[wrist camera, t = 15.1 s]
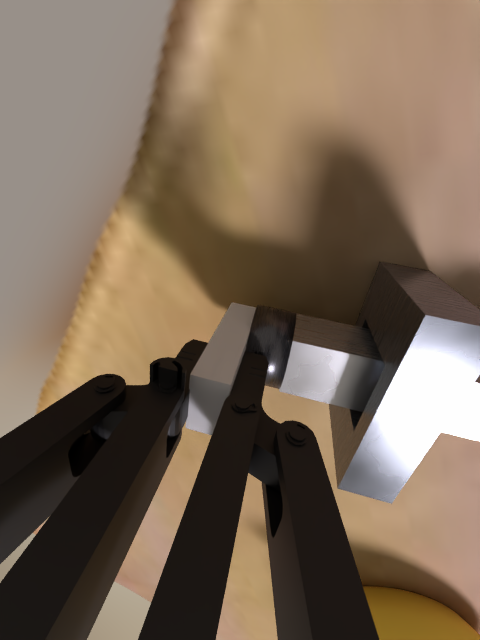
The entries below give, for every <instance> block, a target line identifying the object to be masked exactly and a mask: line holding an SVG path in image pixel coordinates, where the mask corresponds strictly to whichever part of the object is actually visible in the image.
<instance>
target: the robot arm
mask: <svg viewBox="0 0 480 640" xmlns="http://www.w3.org/2000/svg"><path fill="white" fill-rule="evenodd" d="M255 310H256V307H251V306H247V305H242V304H238V303H233V302H232V303H231V305H230V306H229V308H228V310H227V311H226V313H225V315H224V317H223V318H222V320H221V322H220V324H219V325H218V327H217V329H216V331H215V332H214V334H213V336H212V337H211V339H210V341H209V343H206V342H202V341H198V340H194V339H193V340H191V341H190V342H188V343H186V344H185V345H184V346H183V348H182V349H181V351H180V352H179V353H178V355H177V357H176V358H169V357H167V358H160V359H157V360H155V361H153V362H152V363H151V364H150V383H149V384H147V385H126V383H125V380H124V379H123V378H122V377H121V376H118V375H115V374H104V375H99V376H97V377H95V378H93V379H91V380H89V381H88V382H86V383H85V384H83V385H82V386H80V387H79V388H77V389H76V390H74V391H72V392H71V393H69V394H68V395H66V396H65V397H63V398H62V399H60V400H58V401H57V402H55V403H54V404H52V405H51V406H49V407H48V408H46V409H45V410H43V411H41V412H40V413H38V414H37V415H35V416H34V417H32V418H31V419H29V420H28V421H26V422H24V423H23V424H21V425H20V426H18V427H17V428H15V429H14V430H12V431H11V432H9V433H7V434H6V435H4V436H3V437H1V438H0V564H1V563H2V562H3V561H4V560H5V559H6V558H7V557H8V556H9V555H10V554H11V553H12V552H13V551H14V550H15V549H16V548H17V547H18V546H19V545H20V544H21V543H22V542H23V541H24V540H26V539H27V537H28V536H30V535H31V534H32V533H33V532H34V531H35V530H36V529H37V528H38V527H39V526H40V525H41V524H42V523H43V522H44V521H45V520H46V519H47V518H48V517H49V516H50V515H51V516H50V517H49V518H48V520H47V521H46V522H45V524H44V525H43V526H42V528H41V529H40V530H39V532H38V533H37V534H36V536H35V537H34V538H33V540H32V541H31V543H30V544H29V545H28V547H27V548H26V549H25V551H24V552H23V553H22V555H21V556H20V557H19V559H18V560H17V561H16V563H15V564H14V565H13V567H12V568H11V569H10V571H9V572H8V573H7V575H6V576H5V577H4V579H3V580H2V581H1V583H0V640H87V638H88V636H89V633H90V631H91V629H92V627H93V625H94V623H95V621H96V618H97V616H98V614H99V612H100V610H101V608H102V606H103V604H104V601H105V599H106V597H107V595H108V593H109V591H110V589H111V587H112V584H113V582H114V580H115V578H116V576H117V574H118V572H119V570H120V567H121V565H122V563H123V561H124V559H125V557H126V555H127V552H128V550H129V548H130V546H131V544H132V542H133V540H134V538H135V535H136V533H137V531H138V529H139V527H140V525H141V523H142V520H143V518H144V516H145V514H146V512H147V510H148V508H149V506H150V503H151V501H152V499H153V497H154V495H155V493H156V491H157V489H158V486H159V484H160V482H161V480H162V478H163V476H164V474H165V471H166V469H167V467H168V465H169V463H170V461H171V459H172V457H173V454H174V452H175V450H176V448H177V446H178V444H179V442H180V439H181V435H182V428H183V426H184V424H185V422H186V428H187V429H191V430H195V431H198V432H202V433H205V434H209V435H212V437H211V439H210V442H209V445H208V448H207V450H206V453H205V456H204V459H203V461H202V464H201V467H200V470H199V472H198V475H197V478H196V481H195V483H194V486H193V489H192V492H191V495H190V497H189V500H188V503H187V506H186V508H185V511H184V514H183V517H182V519H181V522H180V525H179V528H178V530H177V533H176V536H175V539H174V541H173V544H172V547H171V550H170V552H169V555H168V558H167V561H166V564H165V566H164V569H163V572H162V575H161V577H160V580H159V583H158V586H157V588H156V591H155V594H154V597H153V599H152V602H151V605H150V608H149V610H148V613H147V616H146V619H145V622H144V624H143V627H142V630H141V633H140V635H139V638H138V640H216V634H217V629H218V624H219V619H220V614H221V609H222V604H223V599H224V594H225V588H226V583H227V578H228V573H229V568H230V563H231V558H232V553H233V548H234V542H235V537H236V532H237V527H238V522H239V517H240V512H241V507H242V502H243V496H244V491H245V486H246V481H247V476H248V473H250V474H251V475H253V476H254V477H256V478H257V479H259V480H260V481H262V490H263V500H264V509H265V519H266V529H267V539H268V548H269V558H270V568H271V577H272V587H273V597H274V607H275V616H276V626H277V636H278V640H379V636H378V633H377V630H376V627H375V624H374V621H373V617H372V614H371V611H370V608H369V605H368V602H367V598H366V595H365V592H364V589H363V586H362V583H361V579H360V576H359V573H358V570H357V567H356V563H355V560H354V557H353V554H352V551H351V548H350V544H349V541H348V538H347V535H346V532H345V529H344V525H343V522H342V519H341V516H340V513H339V509H338V506H337V503H336V500H335V497H334V494H333V490H332V487H331V484H330V481H329V478H328V475H327V471H326V468H325V465H324V462H323V459H322V456H321V452H320V449H319V446H318V443H317V440H316V437H315V435H314V433H313V431H312V430H311V429H309V428H308V427H307V426H306V425H304V424H302V423H300V422H297V421H293V420H292V421H285V422H283V423H281V424H280V423H278V422H276V421H274V420H273V419H271V418H270V417H269V416H268V415H267V414H266V413H265V412H264V410H263V408H262V396H263V391H264V386H265V381H266V376H267V370H268V365H269V363H268V360H267V358H266V356H263V355H259V354H255V353H251V352H247V351H245V350H246V346H247V341H248V337H249V333H250V328H251V324H252V320H253V317H254V313H255Z"/></svg>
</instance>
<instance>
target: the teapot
mask: <svg viewBox="0 0 480 640" xmlns="http://www.w3.org/2000/svg"><path fill="white" fill-rule="evenodd" d="M363 589H364V592H365V595H366V598H367V602H368V605H369V608H370V611H371V614H372V617H373V621H374V624H375V627H376V630H377V633H378V636H379V640H480V635H479V634H478V633H477V632H476V631H475V630H474V629H473V628H472V627H471V626H470V625H469V624H468V623H467V622H465V621H464V620H463V619H462V618H461V617H460V616H459V615H458V614H457V613H456V612H454V611H453V610H451V609H450V608H448V607H447V606H445V605H443V604H441V603H439V602H437V601H435V600H433V599H431V598H428V597H425V596H422V595H420V594H416V593H413V592H409V591H405V590H400V589H395V588H388V587H378V586H363Z"/></svg>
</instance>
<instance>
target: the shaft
mask: <svg viewBox="0 0 480 640" xmlns="http://www.w3.org/2000/svg"><path fill="white" fill-rule="evenodd" d="M245 351H247V352H251V353H255V354H259V355H263V356H266V358H267V360H268V363H269V365H268V370H267V376H266V381H265V386H269V387H273V388H278V389H279V391H280V392H284V393H288V394H292V395H296V396H300V397H304V398H308V399H312V400H316V401H320V402H324V403H328V404H332V405H336V406H340V407H344V408H348V409H352V410H356V411H360V412H363V411H364V409H365V407H366V405H367V403H368V401H369V399H370V397H371V395H372V392H373V390H374V388H375V386H376V384H377V382H378V380H379V378H380V376H381V374H382V372H383V369H384V367H385V365H384V362H383V360H382V357H381V355H380V353H379V350H378V348H377V345H376V343H375V340H374V338H373V336H372V333H371V331H370V329H367V328H362V327H358V326H353V325H348V324H344V323H339V322H334V321H330V320H325V319H321V318H316V317H311V316H307V315H302V314H298V313H294V312H289V311H285V310H280V309H276V308H271V307H266V306H262V305H257V308H256V310H255V313H254V317H253V320H252V324H251V328H250V333H249V337H248V341H247V346H246V350H245ZM441 432H445V433H449V434H453V435H457V436H461V437H465V438H469V439H473V440H477V441H480V375H479V377H478V378H477V380H476V381H475V382H474V384H473V385H472V387H471V388H470V390H469V391H468V393H467V394H466V396H465V397H464V399H463V400H462V401H461V403H460V404H459V406H458V407H457V409H456V410H455V412H454V413H453V415H452V416H451V418H450V419H449V420H448V422H447V423H446V425H445V426H444V428H443V429H442V431H441Z"/></svg>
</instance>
